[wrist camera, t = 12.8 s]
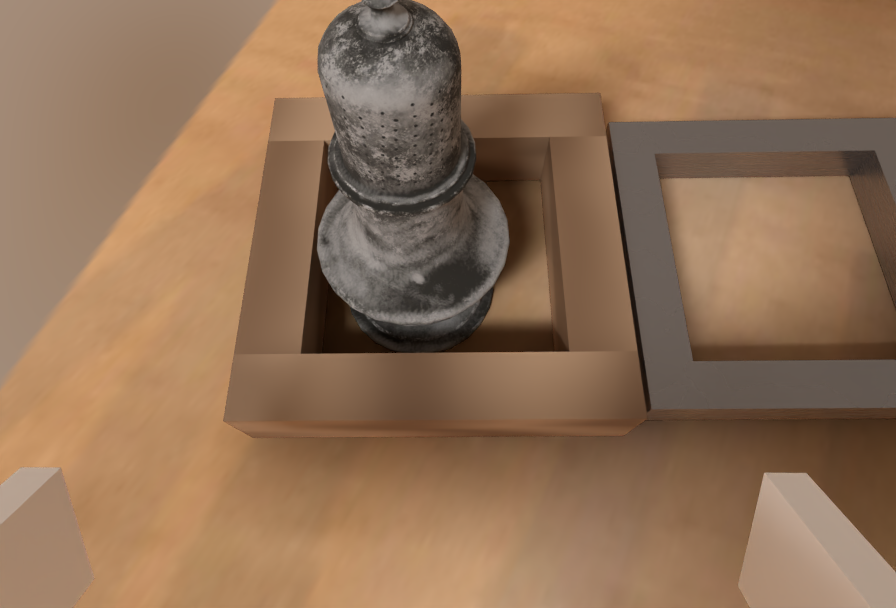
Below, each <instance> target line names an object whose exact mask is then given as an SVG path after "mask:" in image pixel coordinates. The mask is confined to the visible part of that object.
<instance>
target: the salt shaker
mask: <svg viewBox="0 0 896 608" xmlns="http://www.w3.org/2000/svg"><path fill="white" fill-rule="evenodd" d="M318 74H319V77H320V81H321V84H322V88H323V91H324V95H325V98H326V102H327V105H328V109H329V112H330V115H331V119H332V122H333V126H334V129H335V132H334V134H333V137H332V139H331V142H330V144H329V147H328V166H329V169H330V173H331V176H332V179H333V181H334V183H335V184H336V186H337V187H338V188H339V190H338V192H337V193H336V195H335V196H334V197H333V199H332V200H331V202H330V203H329V204H328V206H327V207H326V209H325V212H324V215H323V217H322V220H321V223H320V225H319V228H318V243H317V252H318V256H319V260H320V264H321V268H322V272H323V274H324V275H325V277H326V279H327V280H328V282H329V284H330V285H331V287H332V288H333V290H334V292H335V293H336V294H337V295H338V296H339V297H340V298H342V299H343V300H344V301H345V302H346V303H347V304H348V305H349V306H350V309H351V313H352V315H353V317H354V318H355V320H356V322H357V323H358V325H359V327H360V328H361V330H362V331H363V332H365V333H366V334H367V335H368V336H369V337H370V338H371V339H372V340H373V341H374V342H376V343H378V344H380V345H382V346H384V347H386V348H388V349H390V350H392V351H396V352H401V353H437V352H440V351H443V350H447V349H450V348H452V347H454V346H455V345H457V344H459V343H460V342H462V341H464V340H465V339H467V338H468V337H469V336H470V335H471V334H472V333H473V332H474V331H475V330H476V329H477V328H478V327H479V326H480V325H481V323H482V321H483V319H484V318H485V316H486V314H487V312H488V310H489V308H490V303H491V299H492V294H493V286H494V284H495V282H496V281H497V279H498V277H499V275H500V273H501V271H502V270H503V268H504V266H505V262H506V257H507V252H508V248H509V243H510V240H509V230H508V220H507V218H506V215H505V213H504V211H503V208H502V206H501V203H500V201H499V199H498V198H497V197H496V196H495V194H494V193H493V192H492V191H491V190H490V188H489V187H488V186H487V185H486V183H484V182H483V181H482V180H480V179H479V178H478V177H476V176H475V175H473V171H474V167H475V163H476V147H475V141H474V138H473V136H472V134H471V132H470V129H469V127H468V126H467V125H466V124H465V123H464V122H463V120H462V119H461V57H460V50H459V47H458V43H457V40H456V38H455V36H454V34H453V31H452V29H451V28H450V27H449V26H448V25H447V24H446V23H445V22H444V21H443V20H442V18H440V17H439V16H438V15H437V14H436V13H435V12H434V11H433V10H431V9H429V8H428V7H426V6H425V5H423V4H420V3H418V2H415V1H412V0H362V1H361V2H359V3H357V4H354V5H352V6H350V7H348V8H347V9H345V10H344V11H342V12H341V13H339V14H338V15H337V16H336V17H335V19H334V20H333V21H332V22H331V23H330V24H329V26H328V28H327V29H326V31H325V32H324V34H323V37H322V39H321V41H320V44H319V46H318Z"/></svg>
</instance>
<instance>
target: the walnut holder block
mask: <svg viewBox="0 0 896 608" xmlns="http://www.w3.org/2000/svg"><path fill="white" fill-rule="evenodd" d="M461 119H462V120H463V122H464V123H465V124H466V125H467V126H468V127H469V129H470V132H471V134H472V136H473V138H474V141H475V147H476V163H475V167H474V171H473V175H475V176H476V177H478V178H479V179H480V180H482V181H494V180H540V181H541V194H542V206H543V218H544V230H545V242H546V254H547V267H548V279H549V291H550V303H551V315H552V328H553V340H554V352H466V353H342V354H322V348H323V337H324V327H325V316H326V306H327V295H328V284H329V282H328V280H327V279H326V277H325V275H324V274H323V272H322V268H321V264H320V260H319V256H318V252H317V243H318V228H319V225H320V223H321V220H322V217H323V215H324V212H325V209H326V207H327V206H328V204H329V203H330V202H331V200H332V199H333V197H334V196H335V195H336V193H337V189H338V187H337V186H336V184H335V183H334V181H333V179H332V176H331V173H330V169H329V166H328V147H329V144H330V142H331V139H332V137H333V134H334V132H335V129H334V126H333V122H332V119H331V115H330V112H329V109H328V105H327V102H326V98H325V97H321V98H275V102H274V109H273V115H272V121H271V127H270V133H269V140H268V146H267V152H266V158H265V165H264V171H263V177H262V183H261V189H260V196H259V202H258V208H257V214H256V220H255V227H254V233H253V239H252V245H251V252H250V258H249V264H248V270H247V276H246V283H245V289H244V295H243V301H242V307H241V314H240V320H239V326H238V332H237V338H236V345H235V351H234V357H233V363H232V370H231V376H230V382H229V388H228V394H227V401H226V407H225V413H224V419H223V421H224V422H226V423H227V424H229V425H231V426H233V427H235V428H236V429H238V430H240V431H242V432H244V433H245V434H247V435H249V436H251V437H253V438H284V437H476V436H624V435H626V434H627V433H628V432H630V431H631V430H632V429H634V428H635V427H637V426H638V425H639V424H641V423H642V422H644V421H645V420H646V419H647V412H646V405H645V399H644V392H643V385H642V378H641V371H640V364H639V357H638V350H637V343H636V337H635V330H634V323H633V316H632V309H631V302H630V295H629V288H628V282H627V275H626V268H625V261H624V254H623V247H622V240H621V233H620V226H619V220H618V213H617V206H616V199H615V192H614V185H613V178H612V171H611V164H610V158H609V151H608V144H607V137H606V130H605V123H604V116H603V109H602V102H601V96H600V93H560V94H501V95H461Z"/></svg>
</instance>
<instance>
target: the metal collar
mask: <svg viewBox="0 0 896 608" xmlns="http://www.w3.org/2000/svg"><path fill="white" fill-rule="evenodd" d="M606 137H607V144H608V151H609V158H610V164H611V171H612V178H613V185H614V192H615V199H616V206H617V213H618V220H619V226H620V233H621V240H622V247H623V254H624V261H625V268H626V275H627V282H628V288H629V295H630V302H631V309H632V316H633V323H634V330H635V337H636V343H637V350H638V357H639V364H640V371H641V378H642V385H643V392H644V399H645V405H646V412H647V419H646V420H744V419H896V360H782V361H693V358H692V352H691V347H690V341H689V336H688V331H687V325H686V320H685V315H684V309H683V304H682V298H681V293H680V288H679V282H678V277H677V272H676V266H675V261H674V255H673V250H672V245H671V239H670V234H669V229H668V223H667V218H666V212H665V207H664V202H663V196H662V191H661V186H660V180H659V178H711V177H783V176H849V177H850V180H851V183H852V185H853V188H854V191H855V194H856V197H857V200H858V202H859V205H860V208H861V211H862V214H863V217H864V219H865V222H866V225H867V228H868V231H869V234H870V236H871V239H872V242H873V245H874V248H875V251H876V253H877V256H878V259H879V262H880V265H881V268H882V270H883V273H884V276H885V279H886V282H887V285H888V287H889V290H890V293H891V296H892V299H893V302H894V304H895V307H896V118H854V119H791V120H727V121H664V122H609V123H608V126H607V129H606Z"/></svg>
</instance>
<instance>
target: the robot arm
mask: <svg viewBox="0 0 896 608" xmlns="http://www.w3.org/2000/svg"><path fill="white" fill-rule="evenodd" d="M93 580H94V575H93V572H92V569H91V565H90V562H89V559H88V555H87V552H86V549H85V546H84V542H83V539H82V536H81V532H80V529H79V526H78V523H77V519H76V516H75V513H74V509H73V506H72V503H71V499H70V496H69V493H68V490H67V486H66V483H65V480H64V476H63V473H62V470H61V468H39V467H21V468H20V469H18V470H17V471H16V472H15V473H14V474H13V475H12V476H10V477H9V478H8V479H7V480H6V481H5V482H3V483H2V484H1V485H0V608H73V607H74V606H75V604H76V603H77V601H78V600H79V599H80V597H81V596H82V595H83V593H84V592H85V591H86V589H87V588H88V587H89V585H90V584H91V583H92V581H93ZM738 587H739V589H740V591H741V593H742V595H743V596H744V598H745V600H746V602H747V604H748V605H749V607H750V608H896V572H895V571H894V570H893V568H892V567H891V566H890V565H889V564H888V563H887V562H886V561H885V560H884V558H883V557H882V556H881V555H880V554H879V553H878V552H877V551H876V550H875V548H874V547H873V546H872V545H871V544H870V543H869V542H868V541H867V540H866V539H865V537H864V536H863V535H862V534H861V533H860V532H859V531H858V530H857V529H856V527H855V526H854V525H853V524H852V523H851V522H850V521H849V520H848V519H847V517H846V516H845V515H844V514H843V513H842V512H841V511H840V510H839V509H838V507H837V506H836V505H835V504H834V503H833V502H832V501H831V500H830V499H829V497H828V496H827V495H826V494H825V493H824V492H823V491H822V490H821V489H820V487H819V486H818V485H817V484H816V483H815V482H814V481H813V480H812V479H811V478H810V476H809V475H808V474H807V473H764V476H763V480H762V484H761V489H760V493H759V497H758V501H757V506H756V510H755V514H754V518H753V523H752V527H751V531H750V536H749V540H748V544H747V548H746V553H745V557H744V561H743V566H742V570H741V574H740V578H739V583H738Z"/></svg>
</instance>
